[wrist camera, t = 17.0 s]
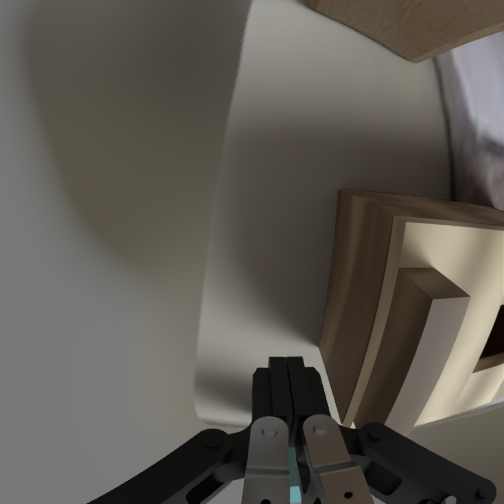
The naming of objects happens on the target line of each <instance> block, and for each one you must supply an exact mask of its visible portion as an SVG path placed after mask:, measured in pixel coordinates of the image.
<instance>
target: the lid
mask: <svg viewBox="0 0 504 504" xmlns="http://www.w3.org/2000/svg"><path fill="white" fill-rule="evenodd" d="M500 305H504V227H502V226H494V225H486V224H477V223H468V222H459V221H449V220H438V219H427V218H416V217H404V216H394V219H393V227H392V234H391V241H390V247H389V253H388V259H387V265H386V270H385V276H384V281H383V286H382V291H381V295H380V300H379V304H378V309H377V313H376V317H375V322H374V326H373V330H372V333H371V337H370V341H369V345H368V348H367V352H366V355H365V359H364V362H363V366H362V369H361V372H360V376H359V379H358V382H357V385H356V388H355V391H354V394H353V397H352V400H351V403H350V406H349V408H348V411H347V414H346V417H345V419H344V422H343V425H342V426H344V427H348V428H355V429H361V428H362V427H363V426H364V425H365V424H368V423H371V422H378V423H382V424H384V425H386V426H387V427H389V428H391V429H393V430H394V431H396V432H398V433H399V434H401V435H403V436H405V437H406V438H407V436H408V435H409V433H410V431H411V430H412V428H413V426H417V425H421V424H425V423H428V422H432V421H436V420H439V419H442V418H446V417H449V416H452V415H455V414H458V413H461V412H464V411H467V410H470V409H472V408H475V407H478V406H480V405H483V404H486V403H488V402H491V401H493V400H495V399H498V398H500V397H502V396H504V352H503V353H500V354H497V355H493V356H490V357H486V358H483V359H479V357H480V355H481V353H482V351H483V349H484V346H485V344H486V342H487V339H488V337H489V335H490V332H491V330H492V327H493V324H494V322H495V319H496V317H497V314H498V311H499V308H500Z"/></svg>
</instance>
